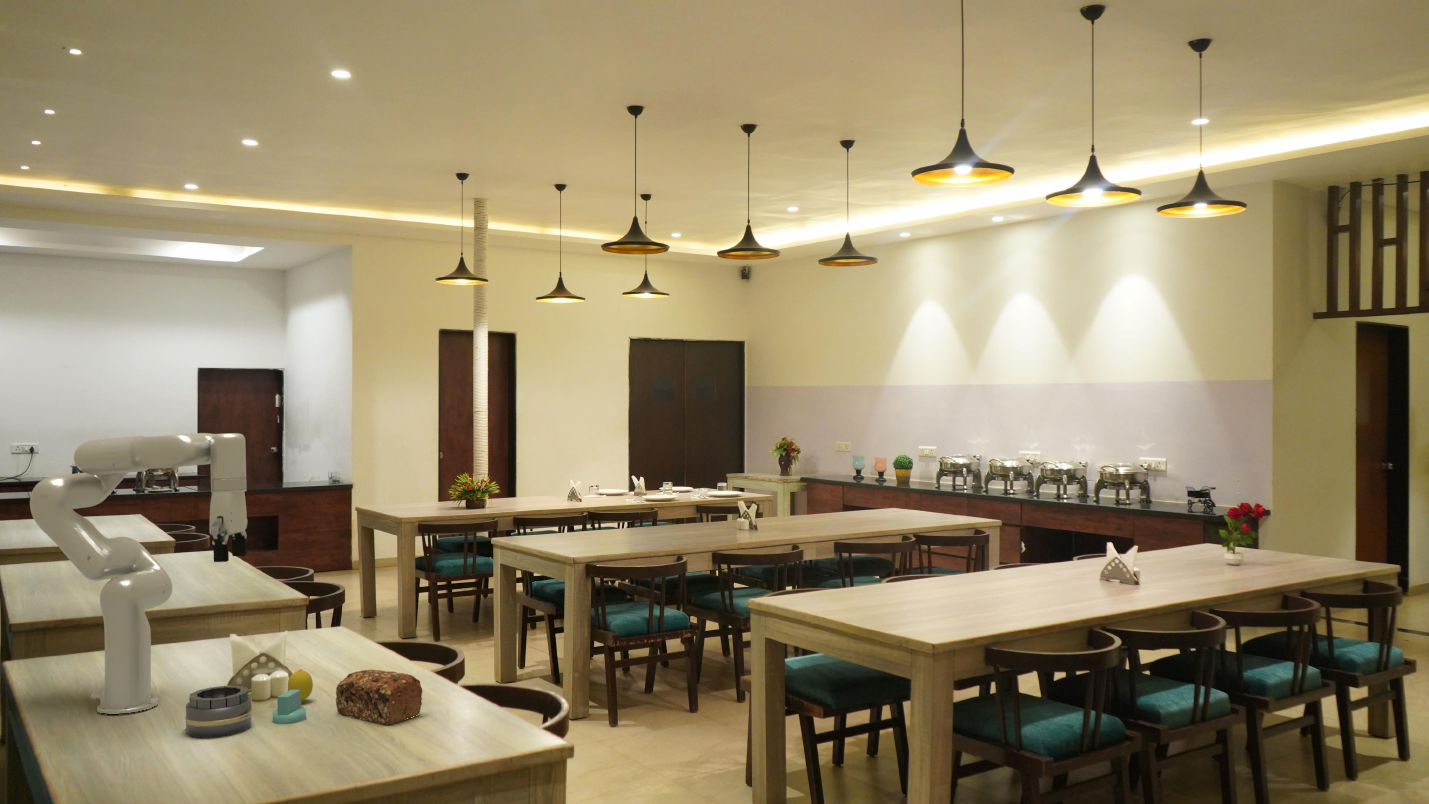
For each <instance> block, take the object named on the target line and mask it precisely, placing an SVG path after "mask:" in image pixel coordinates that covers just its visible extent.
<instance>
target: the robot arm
mask: <svg viewBox="0 0 1429 804" xmlns="http://www.w3.org/2000/svg"><path fill="white" fill-rule="evenodd" d="M245 437H246V436H244V434H242V433H238V432H236V433H235V432H234V433H232V432H231V433H227V432H225V433H208V432H197V433H196V432H195V433H194V432H193V433H178V434H177V433H176V434H166V435H155V436H145V435H135V436H134V435H133V436H132V435H131V436H121V437H109V438H97V439H91V440H87V441H84V442H83V443H82V444H80V445H79V446H78V447H77V448H76V449H75V451H74V453H73V462H74V465H75V466H76V467H77V469H79V470H80V471H81V472H80V473H78V472H77V473H67V474H59V475H57V474H56V475H53V476H49V477H46V478H44V479H42V480H41V481H39V482H38V483H37V484H36V485H35V486H34V487H33V489H32V491H31V493H30V499H29V507H30V512H31V516H32V519H33V520H34V521H35V523H36V525H37V526H38V527H39V529H40V530H41V531H42V532H43V533H44V534H45V535H46V536H47V537H49V538H50V539H51V541H53V542H54V543H55V545H56V546H58V548H59V549H60V551H62V553H63V554H64V555H65V556H66V557H67V559H68V560H69V561H70V562H71V563H72V564H73V565H74V567H75V568H76V569H77V570H78V571H79V573H80V574H82V575H83V576H84V577H85V578H86V579H88V580H90V581H93V582H98V581H105V580H108V581H107V582H106V583H105V584H104V585H103V587H102V589H101V590H100V594H99V604H100V609H101V614H102V619H103V627H104V628H103V629H104V689H103V688H102V689H101V688H96V689H93V690H92V693H91V694H90V699H91V700H100V703H99V704H98V705H97V707H96V711H97V713H99V712H101V713H108V714H119V713H129V714H131V713H130V712H135V713H139V712H138V711H140V712H143V711H142V710H144V711H147V710H149V709H153V708H154V706H155V707H157V705H159V698H158V697H157V696H153V695H152V663H151V662H152V649H151V648H152V643H151V642H152V637H151V636H152V634H151V626H150V623H149V619H148V618H147V615H146V612H145V611H147V610H150V609H153V608H156V607H159V606H161V605H163V604H165V603H166V602H168V600H169V599H170V598H171V596H172V593H173V583H172V579H171V578H170V576H169V574H168V573H167V571H166V570H165V569H164V568H163V567H162V566H161V564H160V563H159V562H158V561H157V560H156V559H155V558H154V556H152V554H151V553H150V552H149V550H148V549H146V548H145V546H144V545H142V544H141V543H140V542H139V541H137V540H135V539H134V538H131V537H127V536H117V537H109V538H108V537H106V536H104V535H103V534H102V532H100V531H99V529H97V528H96V526H95V525H94V524H93V523H92V522H91V521H90V520H88V519H87V518H86V517H84V516H83V515H81V514H79V513H77V512H76V511H75V509H76V510H78V509H82V508H84V509H85V508H91V507H94V506H97V505H98V504H101V503H103V502H104V501H105V500H106V499H107V498H108V496H110V494H111V493H112V492H113V491H114V490H115V489H116V488H117V486H118V485H119V484H120V483H121V482H122V481H123V480H124V478H126V476H127V475H128V474H129V473H138V472H139V473H141V472H146V471H148V470H150V469H151V470H154V469H165V468H166V469H167V468H179V467H180V468H181V467H193V466H202V465H203V466H204V465H210V491H211V497H210V504H209V505H210V506H209V534H210V535H211V540H212V542H211V543H212V544H211V545H212V549H213V562H214V563H226V562H227V563H228V561H230V560H229V559H230V557H229V556H230V555H229V550H230V549H229V544H228V540H229V537H230V536H232V539H231V555H232V557H245V556H247V553H248V551H247V550H248V549H247V537H248V535H247V532H248V522H249V521H248V519H249V518H247V516H248V515H247V513H248V512H247V505H246V504H247V503H246V495H245V492H247V459H246V458H247V457H246V455H247V454H246V450H247V449H246V438H245ZM152 707H153V708H152ZM146 709H147V710H146ZM101 713H100V714H101ZM119 715H120V714H119Z"/></svg>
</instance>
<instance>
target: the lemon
mask: <svg viewBox="0 0 1429 804" xmlns="http://www.w3.org/2000/svg"><path fill="white" fill-rule="evenodd" d="M313 684H314V683H313V678H312V676H311V674H310V673H309V672H308V671H305V670H304V669H301V668H299V669H298V670H297V671H295V672H294V673H292V674H291V676H290V677H289V679H288V683H287V691H289V690H301V703H303V702H304V700H306V699H308V698H309V697H310V696H311V694H312V691H313V688H314V685H313Z"/></svg>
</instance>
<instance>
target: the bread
mask: <svg viewBox="0 0 1429 804" xmlns="http://www.w3.org/2000/svg"><path fill="white" fill-rule="evenodd" d="M335 695H336V698H335V705H336V710H337V713H338V714H339V715H342V716H346V715H347V716H346V717H349V716H351V718H353V717H354V718H353V719H358V718H361V719H360V720H362V719H364V720H363V721H366V722H371V723H374V722H375V724H379V725H392V724H393V723H394V724H397V723H396V722H398V723H400V722H399V721H401V722H403V721H402V720H404V721H406V720H405V719H407V718H411V717H413V716H416V715H418V714H419V715H420V713H421V710H422V709H421V708H422V705H423V702H422V701H423V697H422V696H423V687H422V685H421V681H420V679H418V678H417V677H415V676H414V675H411V674H408V673H405V672H397V671H390V670H388V671H386V670H380V669H363V670H360V671H357V670H356V671H354V672H351V673H348V674H347V676H346V677H344V678H343V680H340V681H339V683H338V684H337V686H336V690H335ZM419 715H418V716H419ZM416 717H417V716H416ZM411 719H412V718H411ZM368 720H369V721H368Z"/></svg>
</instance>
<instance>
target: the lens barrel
mask: <svg viewBox="0 0 1429 804" xmlns="http://www.w3.org/2000/svg"><path fill="white" fill-rule="evenodd" d="M188 699H189V701H188V702H187V703H186V706H185V735H186V734H187V735H186V736H187V737H189V736H190V738H194V739H216V738H217V739H218V738H224V737H229V736H232V735H236V734H237V735H239V734H240V733H241V734H242V733H243V732H245V731H247V730H249V729H250V728H251V727H252V715H253V708H252V697H251V696H250V695H249V688H248V687H246V686H242V685H220V686H219V685H218V686H212V687H207V688H202V689H198V690H196V691H194V692H192V693H190V694H189V697H188Z"/></svg>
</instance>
